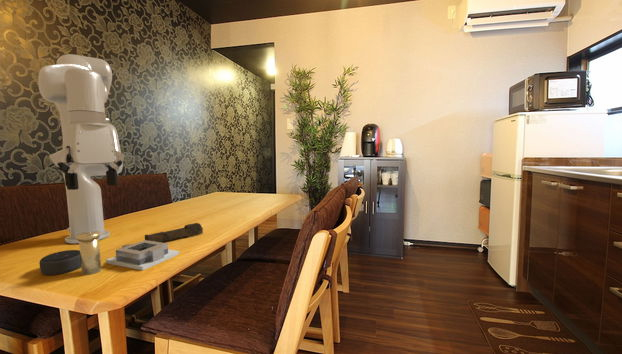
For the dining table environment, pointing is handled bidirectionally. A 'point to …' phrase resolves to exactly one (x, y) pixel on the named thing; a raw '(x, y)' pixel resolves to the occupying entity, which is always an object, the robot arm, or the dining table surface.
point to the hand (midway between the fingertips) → (93, 187)
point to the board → (146, 265)
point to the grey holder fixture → (142, 252)
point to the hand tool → (176, 233)
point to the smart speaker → (60, 262)
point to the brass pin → (89, 252)
